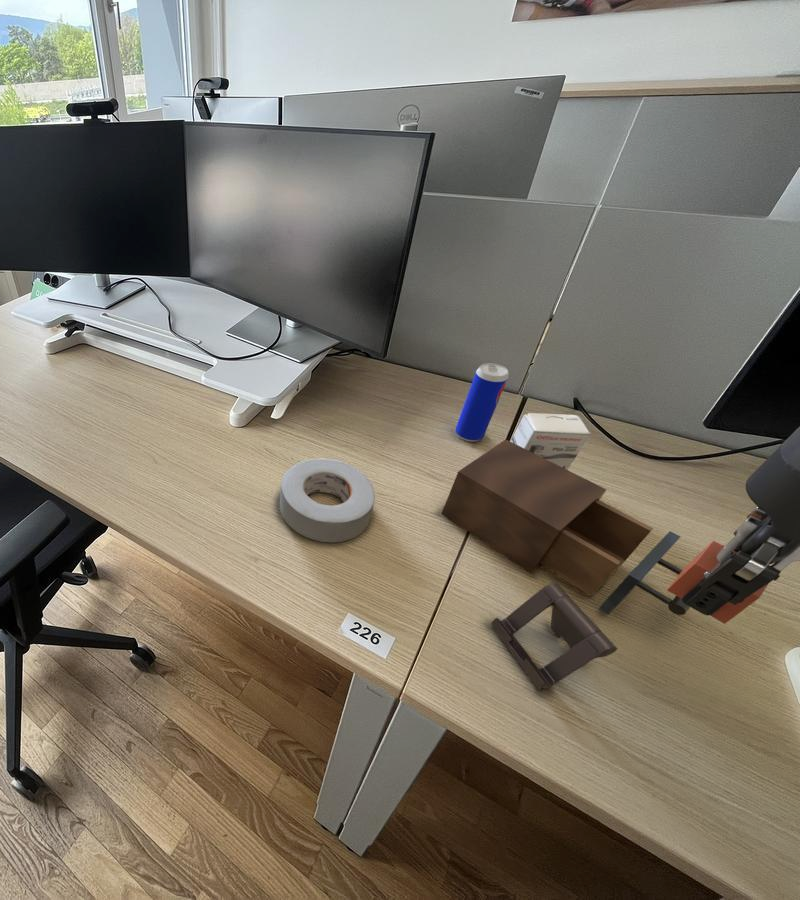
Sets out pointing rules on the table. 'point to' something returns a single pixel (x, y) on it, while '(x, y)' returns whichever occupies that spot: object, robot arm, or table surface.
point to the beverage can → (481, 401)
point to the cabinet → (518, 502)
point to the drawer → (608, 554)
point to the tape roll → (321, 518)
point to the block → (696, 573)
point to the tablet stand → (564, 623)
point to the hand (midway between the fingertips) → (706, 592)
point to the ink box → (552, 436)
